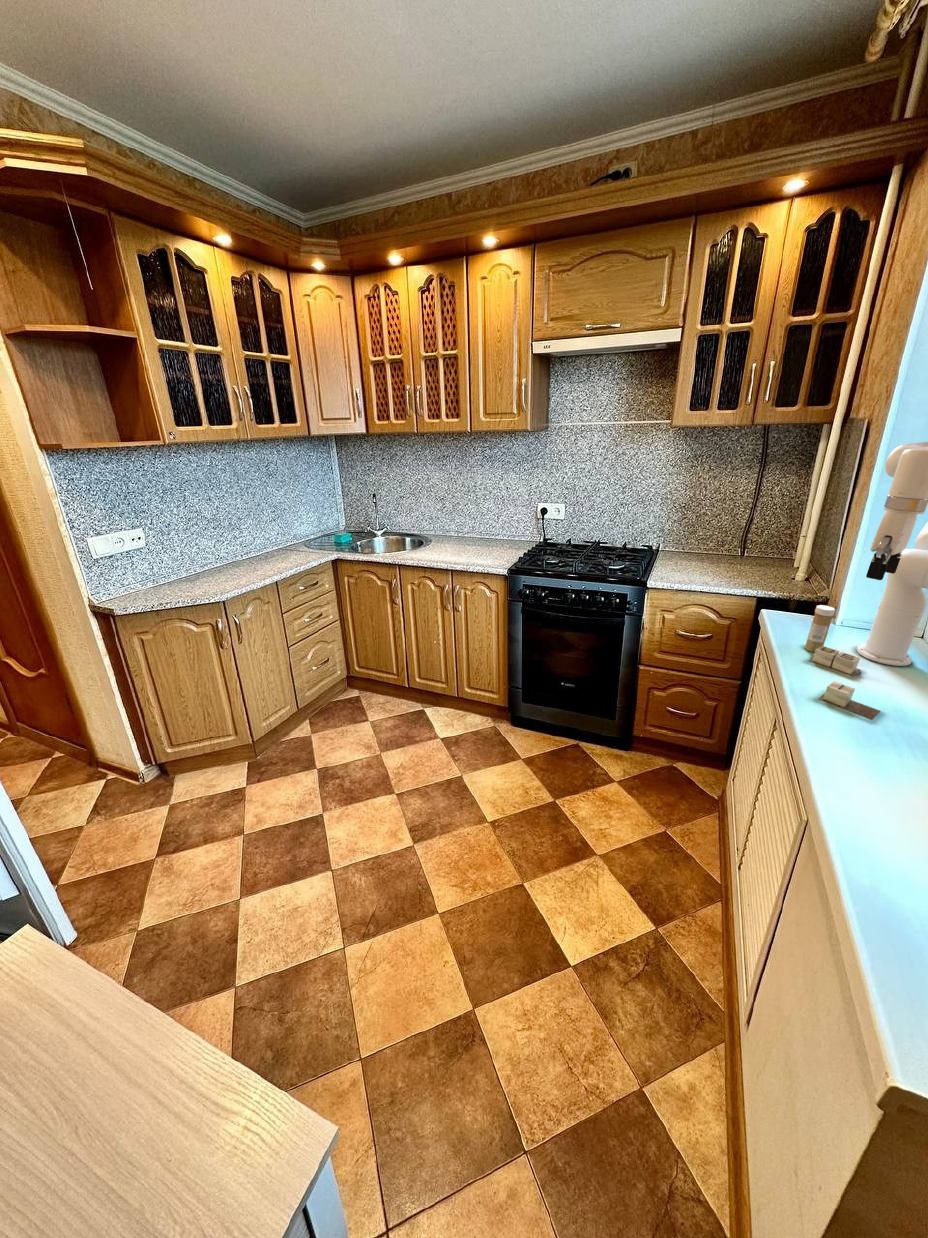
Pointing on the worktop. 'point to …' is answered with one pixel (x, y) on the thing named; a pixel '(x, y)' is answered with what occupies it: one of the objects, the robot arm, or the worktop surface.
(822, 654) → the beige narrow stepped slab
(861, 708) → the near stepped slab
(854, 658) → the small square block
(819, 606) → the sprinkles bottle
